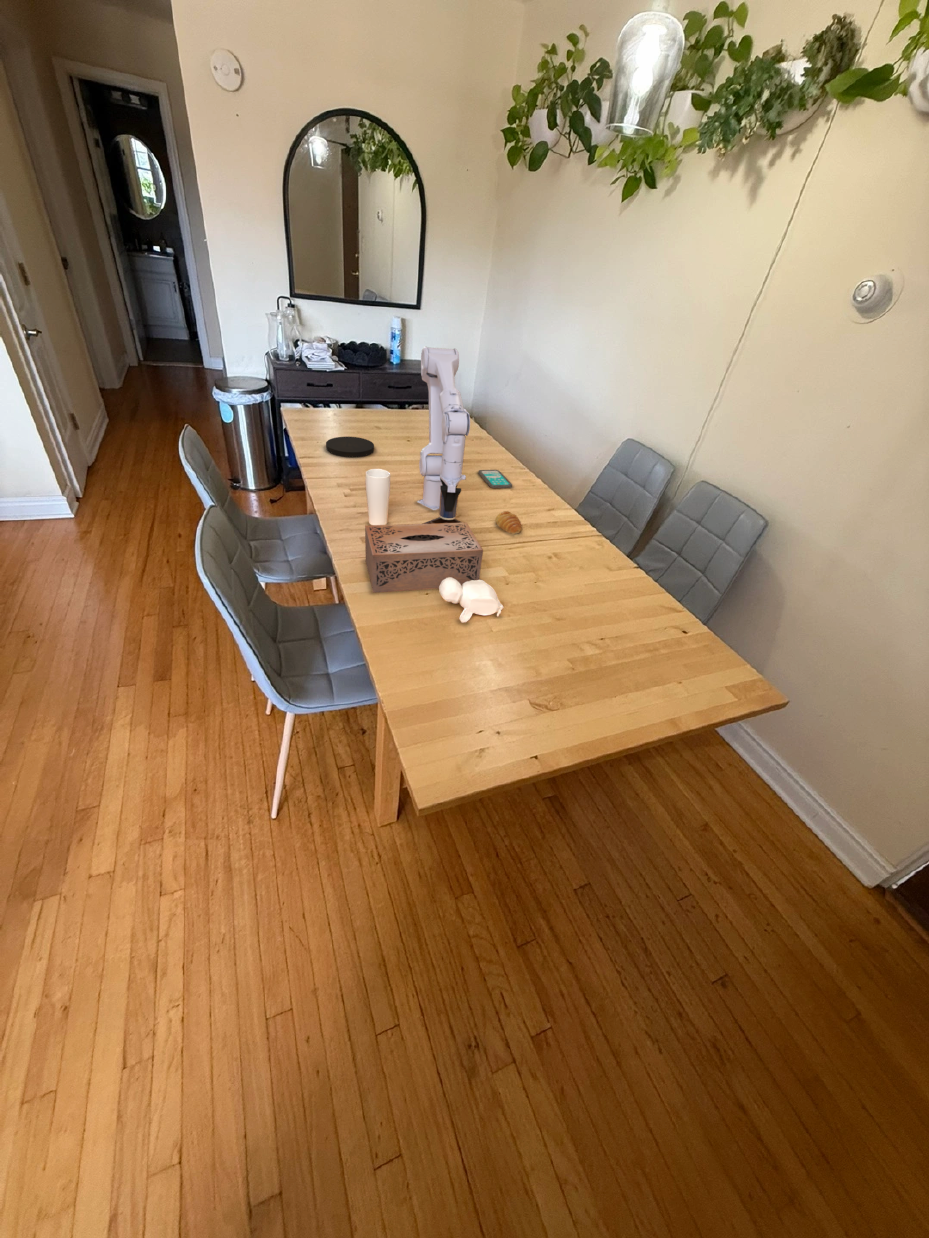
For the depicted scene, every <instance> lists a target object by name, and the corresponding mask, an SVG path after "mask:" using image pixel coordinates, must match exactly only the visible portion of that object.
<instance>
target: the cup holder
mask: <svg viewBox="0 0 929 1238" xmlns="http://www.w3.org/2000/svg"><path fill="white" fill-rule="evenodd" d="M434 523H464V522H463V521H462V520H461V521H460V520H459V519H457V518H455V519H453V520H445V519H442V518H440V517H439V516H438V517H436V518H433V519H431V520H427V521H425V522H423V523H421V524H434Z"/></svg>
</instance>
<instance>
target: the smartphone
mask: <svg viewBox="0 0 929 1238" xmlns="http://www.w3.org/2000/svg"><path fill="white" fill-rule="evenodd" d="M478 475H479V476H480V477H481V478H482V479H483V480H484V482H485V483H486V484H487V486H489V488H492V489H506V488H507V489H509V488H512V487H513V483H512V482H511V481H510V480H509V479H508V478H507V477H506V476H505V475H504V474H503V473H502V472H501V471H500V470H499V469H478Z"/></svg>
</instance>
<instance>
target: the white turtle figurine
mask: <svg viewBox="0 0 929 1238" xmlns="http://www.w3.org/2000/svg"><path fill="white" fill-rule="evenodd" d="M438 593H439V594H440V596H441V598H442V599H443V600H444V601H445V602H447V603H452V604H459V605H460V607H462V608H463V610H462V612H461V613H460V615H459V621H460V622H461V623H462V624H466V623H467V622H468V621H470V619H471V618H472V616H473V614H476V615H479V616H491V615H494V614H496V616H497V617H499V616H500V614H501V613H502V610H503V609H504V605H503V604H502V603H501V601H500V600H499V597H498V594H497V592H496V590H495V589H494V588H493V586H491V585H490V584H489V583H487V582H486V581H485V580H484V579H479V580H471V581H467V582H465V583H463V584H462V586H461V584H460V583H459V582H458V581H457V580H456V579H454V578H452V577H448V578H446V579H444V580H443V581H442V582H441V584H440V586H439V588H438Z"/></svg>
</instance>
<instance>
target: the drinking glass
mask: <svg viewBox="0 0 929 1238" xmlns="http://www.w3.org/2000/svg"><path fill="white" fill-rule="evenodd" d="M364 477H365V479H364V482H365V495H366V504H367V514H368V515H367V516H368V524H370V525H388V515H389V504H390V496H391V472H389V471H388V470H386V469H383V468H371V469H368V470H366V471H365V476H364Z"/></svg>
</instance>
